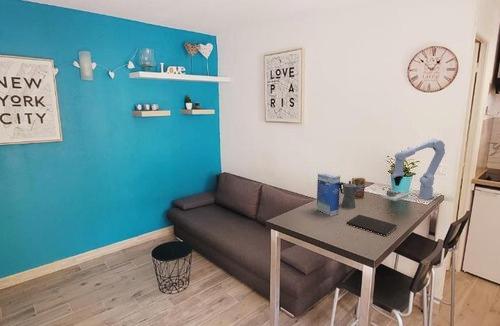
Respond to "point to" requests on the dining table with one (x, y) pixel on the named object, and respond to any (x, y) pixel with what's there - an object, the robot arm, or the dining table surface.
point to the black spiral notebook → (372, 224)
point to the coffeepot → (348, 194)
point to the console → (395, 198)
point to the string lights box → (328, 193)
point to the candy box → (359, 187)
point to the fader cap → (391, 193)
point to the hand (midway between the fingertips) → (397, 185)
